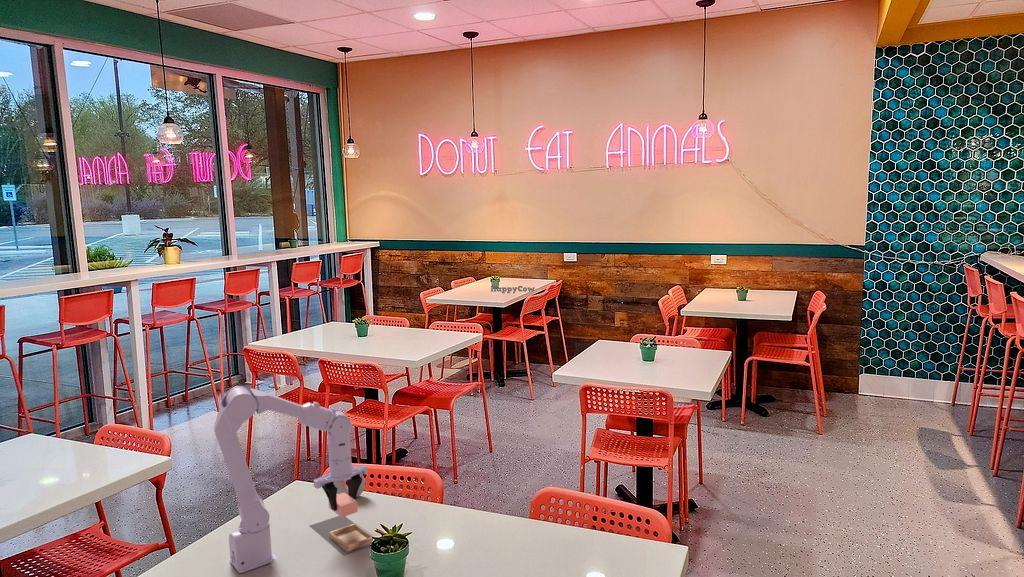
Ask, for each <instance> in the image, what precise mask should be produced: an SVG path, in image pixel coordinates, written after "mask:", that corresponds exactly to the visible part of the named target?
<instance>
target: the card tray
mask: <svg viewBox="0 0 1024 577" xmlns="http://www.w3.org/2000/svg"><path fill="white" fill-rule="evenodd" d="M353 523H354V524H351V525H348V526H346V527H343V528H340V529H337V530H334V531H331V532H329V538H330V539H331V540H332V541H333V542H334V543H336V544H337V545H338V546H339V547H340V548H341V549H343V550H344V551H345V552H346V553H349V552H352V551H354V550H357V549H360V548H363V547H365V546H368V545H370V544H371V543H372V541H373V539H372V537H374V538H375V536H374V535H372V534H371V533H370V532H369V531H367V530H366V529H364V528H363V527H362V526H361V525H360V524H358V523H356V522H353ZM375 539H376V538H375Z"/></svg>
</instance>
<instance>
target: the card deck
mask: <svg viewBox="0 0 1024 577" xmlns="http://www.w3.org/2000/svg"><path fill="white" fill-rule="evenodd" d="M336 499H337V510H336V511H334V510H333V509H331V505H330V502H329V501H328V508H329V509H330V510H331V511H332V512H334V514H337V516H340V517H344V516H345V517H347V516H351V515H353V514H356V513H358V512H359V509H358V501H357V500H355V499H353V498H352V497H350V496H349V495H347V494H346V493H341V494H337V498H336Z"/></svg>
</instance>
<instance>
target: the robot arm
mask: <svg viewBox="0 0 1024 577" xmlns="http://www.w3.org/2000/svg"><path fill="white" fill-rule="evenodd" d="M219 405H220V406H219V408H218V409H219V410H218V414H217V416H216V419H215V422H214V425H213V426H214V427H213V429H214V430H213V431H214V434H215V436H216V440H217V443H218V445H219V448H220V451H221V455H222V456H223V460H224V462H225V466H226V468H227V470H228V474H229V477H230V479H231V483H232V485H233V488H234V492H235V495H236V497H237V501H238V503H237V513H238V515H239V517H240V519H241V521H240V523H239V525H238V529H236V530H235V531H233V532H231V533H229V536H228V545H229V557H230V560H229V563H230V564H231V565H232V566H233V568H235V570H236V571H237V572H238V573H239V574H243V573H246V572H249V571H252V570H254V569H256V568H261V567H263V566H265V565H268V564H270V563H272V562H273V561H276V560H278V559H279V557H277V555H276V554H275V553H274V552H272V538H271V525H270V524H271V523H270V513H269V511H268V509H266V506H265V503H264V500H263V498H262V497H261V496H260V495H258V492H257V489H256V486H255V483H254V480H253V478H252V475H251V471H250V470H249V466H248V464H247V463H248V462H247V460H246V456H245V454H244V452H243V448H242V445H241V442H240V439H239V437H238V434H237V433H238V431H239V430H240V429H241V427H242V426H243V424H244V423H245V422H246V421H248V420H249V419H251V417H252V416H254V414H255V413H257V415H260V414H262V413H265V412H267V411H271V412H275V413H277V414H282V415H285V416H289V417H294V418H297V420H298V423H299V424H301V425H302V426H306V427H309V428H313V429H316V430H319V431H322V432H327V448H328V464H329V466H328V467H329V472H328V473H326V474H324V475H322V476H320V477H318V478H315V479H313V487H314V488H315V489H317V490H318V489H321V488H322V490H323V491H324V493H325V495H326V497H327V499H328V503H329V502H330V505H331V509H333V510H334V511H336V510H337V499H336V498H337V495H338V494H337V489H338V488H336V487H335V484H333V483H335V482H338V481H342V480H344V482H345V481H346V484H347V485H346V486H347V487H348V495H349V496H350V497H352V498H353V499H355V500H356V499H357V497H356V496H357V492H358V489H359V487H360V485H361V483H362V478H361V477H360V475H361V474H363V475H368V474H369V472H368V471H369V470H368V466H366V465H365V464H363V465H359V466H353V463H352V448H351V447H352V446H351V436H350V433H351V431H352V429H353V424H352V421H351V419H350V418H349V417H348V416H347V415H346V414H345V413H343V412H342V411H340V410H339V409H336V408H333V407H331V408H327V407H325V406H320V403H319V402H317V401H313V403H312V402H306V403H303V404H299V403H296V402H294V401H290V400H287V399H285V398H282V397H280V396H277V395H274V394H271V393H268V392H267V391H266V392H265V391H263V390H259V389H255V388H249V389H248V388H247V387H246V386H243V385H237V386H234V387H231V388H230V389H229V390H228V391H227V392H226V393H225V395H224V396H223V397H222V399H221V400H220V404H219ZM356 501H357V500H356ZM331 509H330V510H331ZM334 511H333V512H334Z"/></svg>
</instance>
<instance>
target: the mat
mask: <svg viewBox="0 0 1024 577" xmlns="http://www.w3.org/2000/svg"><path fill="white" fill-rule="evenodd" d="M354 523H355V522H353V521H352V520H351V519H349V518H348V517H347V516H344V517H340V516H339V515H337V516H335V517H332V518H331V517H330V518H329V519H326V520H325V519H324V520H323V521H319V522H316V523H313V524H310V525H309V527H310V528H311V529H312V530H313V531H315V532H316V533H317V534H318V535H319V536H320V537H321V538H323V539H324V540H325V541H326V542H327V543H329V544H330V545H331V546H332V547H333V548H334V549H336V551H338V552H339V553H340V554H341V555H343V556H345V557H346V556H347V555H350V554H353V553H355V552H358V551H360V550H363V549H366V548H369V547H371V546H370V545H368V546H365V547H363V548H360V549H357V550H354V551H352V552H349V553H346V552H345V551H344V550H343V549H341V548H340V547H339V546H338V545H337V544H336V543H334V542H333V541H332V540H331V539H330V538H329V532H331V531H334V530H337V529H340V528H343V527H346V526H348V525H351V524H354Z"/></svg>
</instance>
